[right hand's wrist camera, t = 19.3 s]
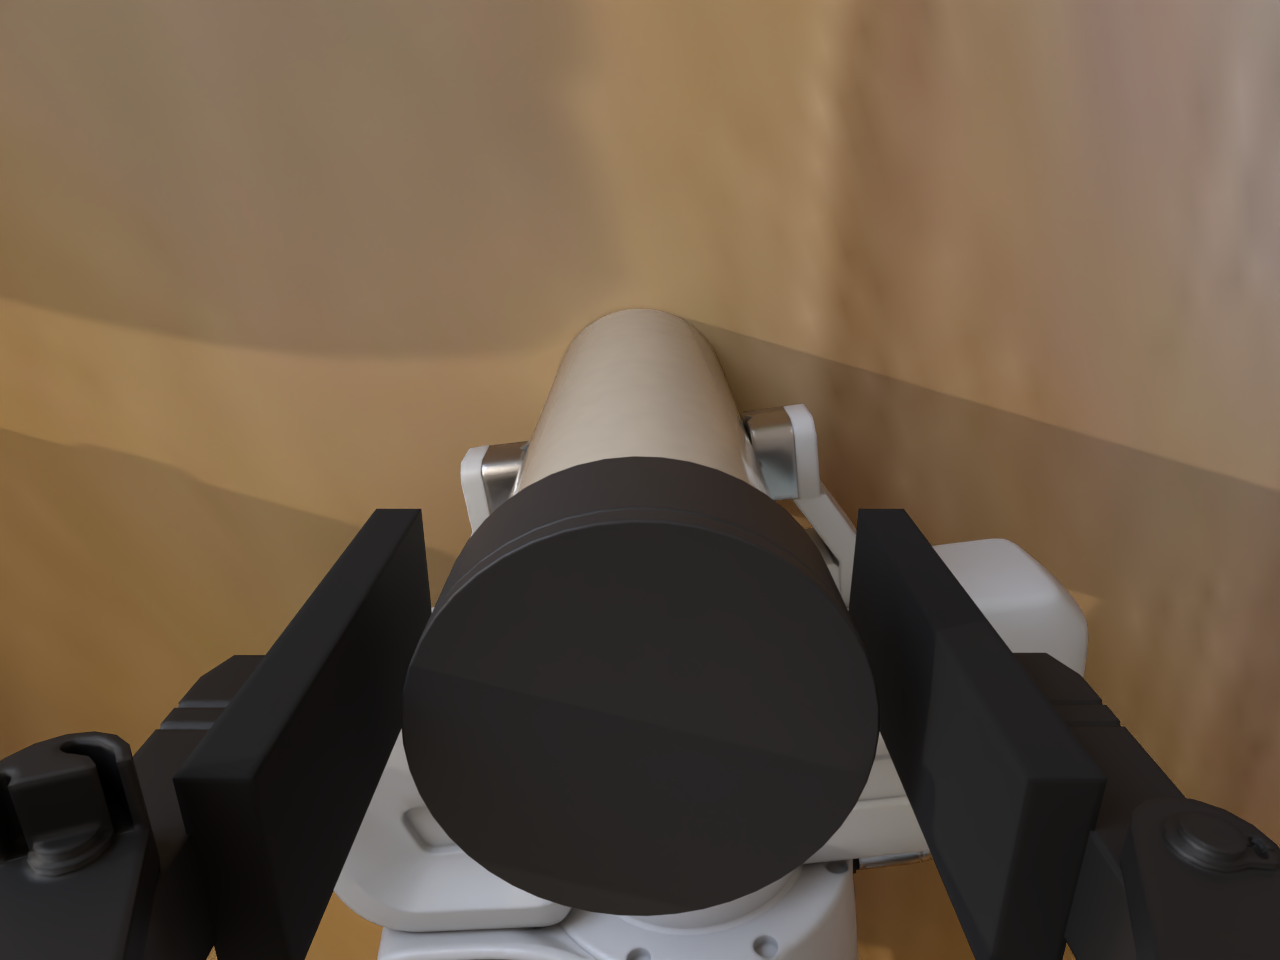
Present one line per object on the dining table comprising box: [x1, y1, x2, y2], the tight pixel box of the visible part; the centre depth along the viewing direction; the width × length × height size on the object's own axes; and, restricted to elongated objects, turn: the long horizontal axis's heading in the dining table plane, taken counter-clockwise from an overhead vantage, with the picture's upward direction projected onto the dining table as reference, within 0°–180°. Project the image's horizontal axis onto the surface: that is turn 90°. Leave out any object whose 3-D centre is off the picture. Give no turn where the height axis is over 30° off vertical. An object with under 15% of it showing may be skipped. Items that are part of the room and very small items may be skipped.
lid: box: [401, 456, 880, 916], centre depth 11 cm, size 6×6×2 cm
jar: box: [507, 309, 773, 500], centre depth 19 cm, size 5×5×16 cm
